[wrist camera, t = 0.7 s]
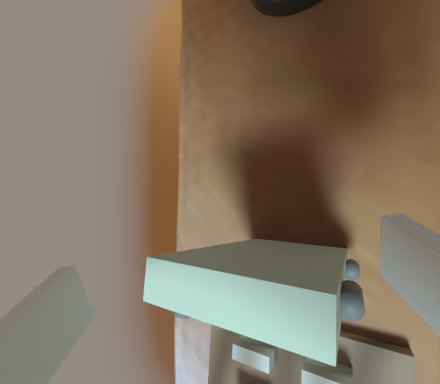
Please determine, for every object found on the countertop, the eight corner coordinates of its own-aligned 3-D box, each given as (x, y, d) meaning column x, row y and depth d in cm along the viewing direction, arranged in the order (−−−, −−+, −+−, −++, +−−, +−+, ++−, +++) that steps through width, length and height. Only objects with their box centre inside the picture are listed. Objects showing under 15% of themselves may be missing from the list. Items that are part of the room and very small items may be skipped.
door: (358, 249, 24) (368, 301, 8) (358, 287, 23) (368, 416, 8) (256, 238, 29) (147, 256, 14) (255, 268, 29) (141, 322, 13)
